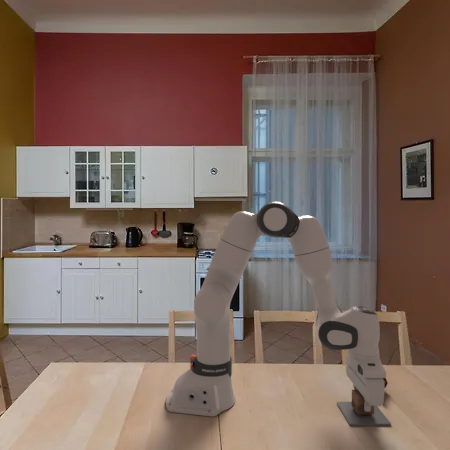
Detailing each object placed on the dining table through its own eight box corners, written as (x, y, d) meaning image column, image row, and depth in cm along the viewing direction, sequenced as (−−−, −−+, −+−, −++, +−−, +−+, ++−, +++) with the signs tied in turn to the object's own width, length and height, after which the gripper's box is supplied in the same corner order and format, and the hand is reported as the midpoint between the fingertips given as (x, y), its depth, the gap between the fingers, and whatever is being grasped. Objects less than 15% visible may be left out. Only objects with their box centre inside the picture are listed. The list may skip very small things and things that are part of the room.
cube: (357, 414, 107) (358, 398, 107) (351, 405, 112) (351, 389, 112) (374, 414, 107) (374, 398, 107) (367, 405, 112) (367, 389, 112)
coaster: (350, 425, 103) (350, 423, 103) (336, 403, 115) (336, 401, 115) (391, 425, 103) (391, 423, 103) (373, 403, 115) (373, 401, 115)
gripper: (341, 347, 119) (340, 387, 120) (366, 375, 99) (365, 423, 99) (360, 347, 119) (359, 387, 120) (389, 375, 99) (388, 423, 99)
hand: (362, 404), depth 109 cm, fingers closed on cube, 5 cm apart
